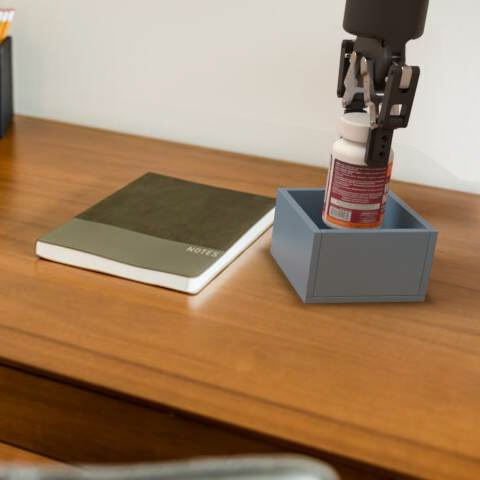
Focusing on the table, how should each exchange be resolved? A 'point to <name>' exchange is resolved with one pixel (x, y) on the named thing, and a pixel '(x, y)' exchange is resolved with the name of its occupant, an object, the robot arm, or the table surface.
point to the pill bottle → (355, 179)
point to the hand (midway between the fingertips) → (362, 154)
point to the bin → (351, 252)
